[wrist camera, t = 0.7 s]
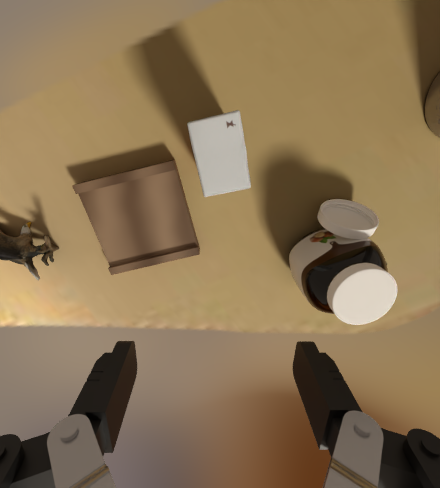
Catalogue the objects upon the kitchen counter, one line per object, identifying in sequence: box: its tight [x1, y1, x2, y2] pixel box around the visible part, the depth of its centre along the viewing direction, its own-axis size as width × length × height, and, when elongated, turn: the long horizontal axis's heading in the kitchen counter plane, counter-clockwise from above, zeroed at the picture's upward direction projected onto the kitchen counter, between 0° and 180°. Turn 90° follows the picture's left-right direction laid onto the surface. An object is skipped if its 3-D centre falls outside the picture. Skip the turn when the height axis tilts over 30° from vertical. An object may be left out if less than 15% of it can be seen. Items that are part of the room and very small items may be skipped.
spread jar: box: [289, 199, 397, 325], centre depth 32 cm, size 12×11×12 cm
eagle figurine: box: [0, 222, 59, 280], centre depth 32 cm, size 8×7×9 cm
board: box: [73, 160, 200, 275], centre depth 33 cm, size 12×12×2 cm
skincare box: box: [187, 110, 251, 197], centre depth 26 cm, size 6×4×12 cm
